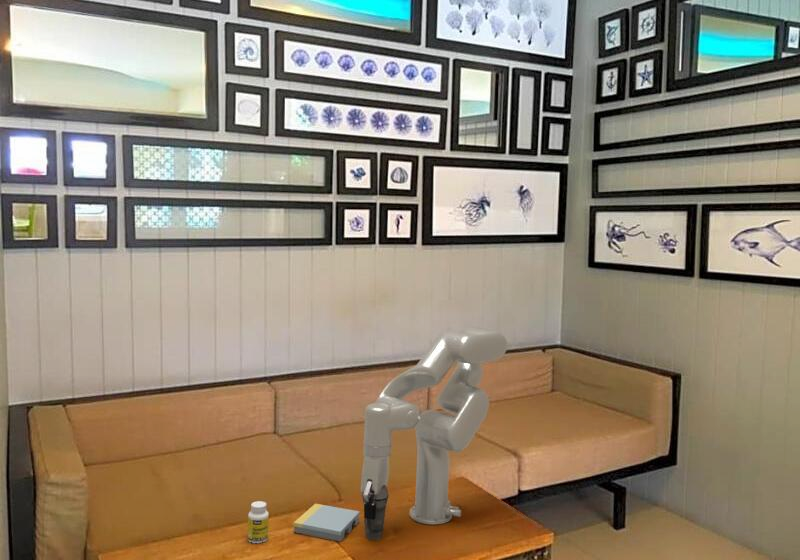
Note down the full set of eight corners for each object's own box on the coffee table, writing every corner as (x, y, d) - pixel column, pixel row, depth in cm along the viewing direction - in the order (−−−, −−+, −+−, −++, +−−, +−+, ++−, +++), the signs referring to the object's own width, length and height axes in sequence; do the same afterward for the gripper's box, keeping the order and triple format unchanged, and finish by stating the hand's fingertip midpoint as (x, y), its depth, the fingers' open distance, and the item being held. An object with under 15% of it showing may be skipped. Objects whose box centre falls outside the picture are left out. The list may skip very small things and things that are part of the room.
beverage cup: (383, 544, 179) (386, 471, 178) (357, 540, 181) (360, 468, 179) (389, 532, 187) (392, 462, 185) (364, 528, 188) (367, 459, 186)
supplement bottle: (250, 545, 175) (251, 509, 175) (245, 536, 180) (246, 501, 179) (270, 542, 178) (271, 506, 177) (264, 533, 183) (265, 498, 182)
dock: (359, 521, 192) (359, 511, 192) (340, 542, 179) (340, 531, 179) (315, 513, 197) (315, 503, 197) (293, 533, 183) (293, 522, 183)
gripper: (375, 438, 191) (372, 499, 193) (352, 457, 175) (349, 523, 176) (400, 442, 189) (397, 503, 190) (379, 461, 172) (376, 528, 174)
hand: (374, 512), depth 183 cm, fingers closed on beverage cup, 6 cm apart
